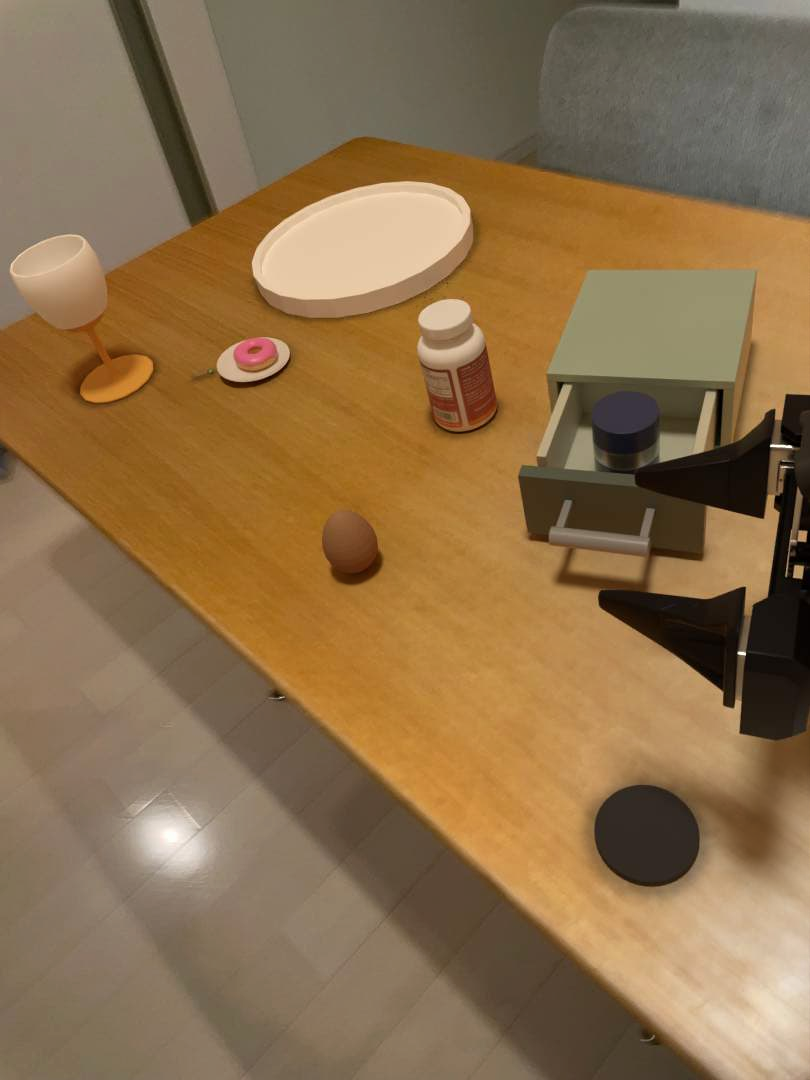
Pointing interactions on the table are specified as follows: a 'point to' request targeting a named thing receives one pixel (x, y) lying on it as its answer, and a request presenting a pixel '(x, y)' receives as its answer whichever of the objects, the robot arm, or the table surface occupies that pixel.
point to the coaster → (646, 835)
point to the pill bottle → (455, 366)
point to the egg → (349, 541)
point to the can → (625, 432)
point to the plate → (363, 249)
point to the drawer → (616, 476)
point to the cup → (77, 308)
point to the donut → (252, 359)
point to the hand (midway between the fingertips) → (618, 534)
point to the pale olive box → (661, 334)
